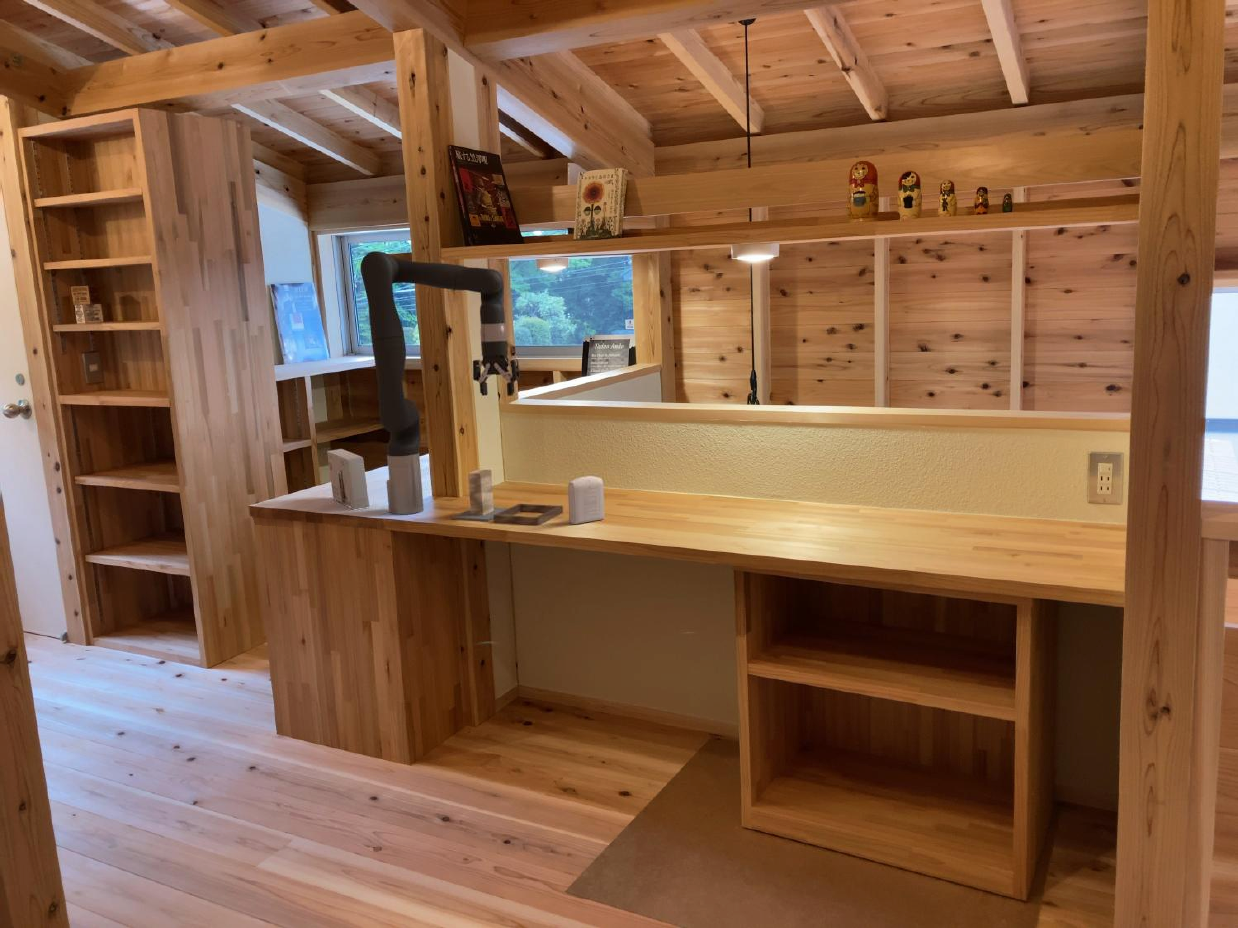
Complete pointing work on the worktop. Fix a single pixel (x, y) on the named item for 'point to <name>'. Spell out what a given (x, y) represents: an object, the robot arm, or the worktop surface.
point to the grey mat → (486, 517)
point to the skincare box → (348, 478)
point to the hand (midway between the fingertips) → (497, 395)
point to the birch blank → (481, 492)
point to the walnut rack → (507, 517)
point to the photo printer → (586, 499)
